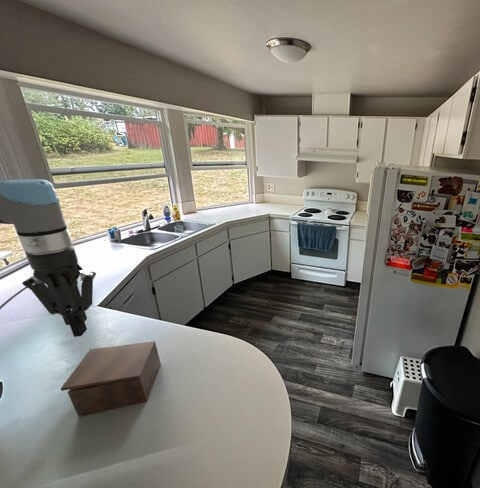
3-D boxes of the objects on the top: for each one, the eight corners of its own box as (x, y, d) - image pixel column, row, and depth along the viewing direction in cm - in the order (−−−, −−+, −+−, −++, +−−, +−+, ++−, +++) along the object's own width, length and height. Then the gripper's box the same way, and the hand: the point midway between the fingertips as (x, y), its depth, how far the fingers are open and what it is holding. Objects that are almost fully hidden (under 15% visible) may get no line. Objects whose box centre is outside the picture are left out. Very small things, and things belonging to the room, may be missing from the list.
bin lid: (61, 390, 62) (60, 388, 62) (90, 351, 74) (90, 349, 74) (140, 377, 67) (139, 375, 67) (155, 342, 79) (155, 340, 79)
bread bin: (78, 416, 66) (67, 392, 62) (103, 375, 78) (95, 353, 75) (147, 401, 70) (140, 378, 67) (160, 364, 82) (155, 343, 79)
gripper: (-2, 258, 52) (38, 347, 60) (76, 253, 56) (104, 338, 64) (25, 245, 58) (58, 327, 67) (94, 242, 62) (117, 320, 70)
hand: (80, 332), depth 65 cm, fingers closed
